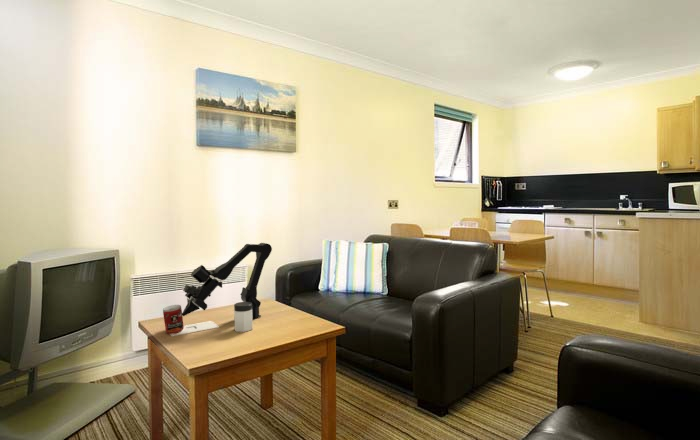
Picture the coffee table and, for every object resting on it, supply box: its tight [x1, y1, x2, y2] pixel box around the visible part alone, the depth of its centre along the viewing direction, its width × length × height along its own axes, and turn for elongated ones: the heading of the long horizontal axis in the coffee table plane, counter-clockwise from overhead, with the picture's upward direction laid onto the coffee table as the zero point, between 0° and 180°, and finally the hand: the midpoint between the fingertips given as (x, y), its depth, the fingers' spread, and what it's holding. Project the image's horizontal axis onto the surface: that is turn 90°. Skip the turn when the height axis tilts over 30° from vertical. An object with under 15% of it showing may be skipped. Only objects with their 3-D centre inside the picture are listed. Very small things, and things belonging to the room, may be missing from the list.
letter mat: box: [169, 320, 220, 337], centre depth 181 cm, size 21×12×1 cm, turn 126°
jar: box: [233, 301, 254, 333], centre depth 180 cm, size 9×8×12 cm
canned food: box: [162, 304, 185, 335], centre depth 176 cm, size 8×8×11 cm
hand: (182, 315), depth 179 cm, fingers closed, pressing on canned food
